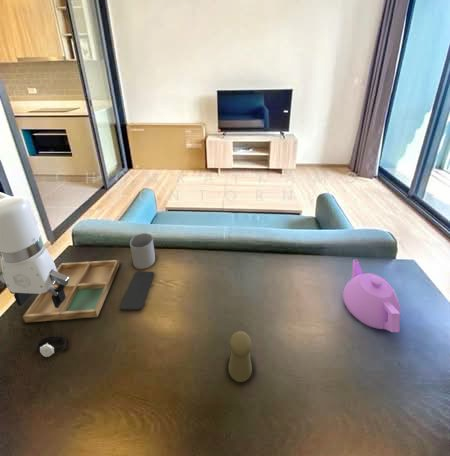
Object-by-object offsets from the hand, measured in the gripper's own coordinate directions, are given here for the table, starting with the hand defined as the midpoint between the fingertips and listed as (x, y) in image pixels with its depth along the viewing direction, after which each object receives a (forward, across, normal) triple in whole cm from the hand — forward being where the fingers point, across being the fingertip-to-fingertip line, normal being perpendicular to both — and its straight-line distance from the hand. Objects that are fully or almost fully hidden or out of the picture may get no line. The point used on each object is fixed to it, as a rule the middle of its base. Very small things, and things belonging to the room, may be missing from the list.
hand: (42, 301), depth 64 cm
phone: (+17, +15, +19) cm, 29 cm away
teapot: (+17, +92, +16) cm, 95 cm away
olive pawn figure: (+17, +51, -2) cm, 54 cm away
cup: (+17, +12, +32) cm, 39 cm away
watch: (+17, -1, -1) cm, 17 cm away
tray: (+17, -6, +18) cm, 25 cm away
